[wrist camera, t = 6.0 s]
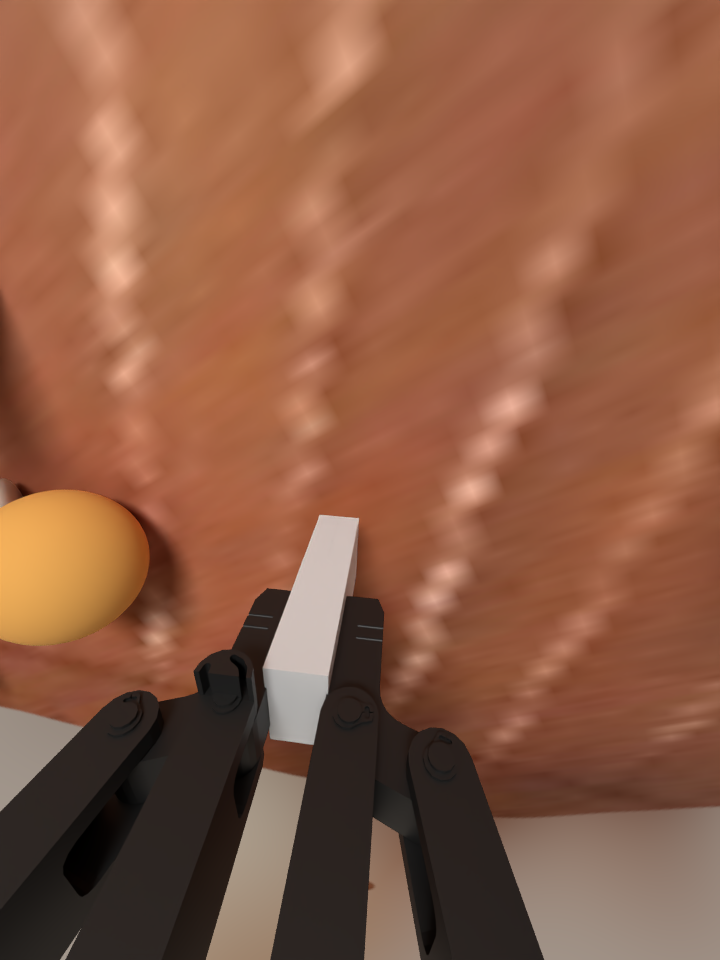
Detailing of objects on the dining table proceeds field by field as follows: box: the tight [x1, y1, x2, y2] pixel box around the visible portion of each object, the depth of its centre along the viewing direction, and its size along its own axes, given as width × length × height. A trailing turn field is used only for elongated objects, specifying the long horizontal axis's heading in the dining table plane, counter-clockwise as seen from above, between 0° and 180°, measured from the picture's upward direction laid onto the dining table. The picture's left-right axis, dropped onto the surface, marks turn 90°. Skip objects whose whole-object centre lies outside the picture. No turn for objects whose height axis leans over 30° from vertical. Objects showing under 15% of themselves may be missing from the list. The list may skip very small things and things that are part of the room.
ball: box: [0, 490, 150, 646], centre depth 15 cm, size 6×6×6 cm
